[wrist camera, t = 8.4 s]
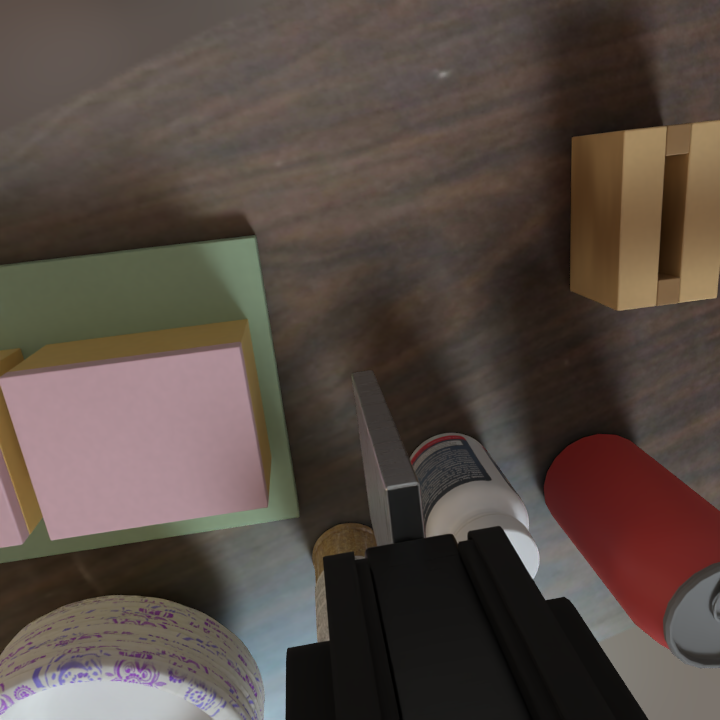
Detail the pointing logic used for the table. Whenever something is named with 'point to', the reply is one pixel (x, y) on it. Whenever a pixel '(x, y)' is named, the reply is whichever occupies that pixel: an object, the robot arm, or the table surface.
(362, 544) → the sprinkles bottle
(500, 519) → the pill bottle
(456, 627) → the knife
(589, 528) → the beer can
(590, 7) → the table surface
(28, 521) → the slice
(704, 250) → the stand
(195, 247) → the cake board
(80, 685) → the paper bowls
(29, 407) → the cake
